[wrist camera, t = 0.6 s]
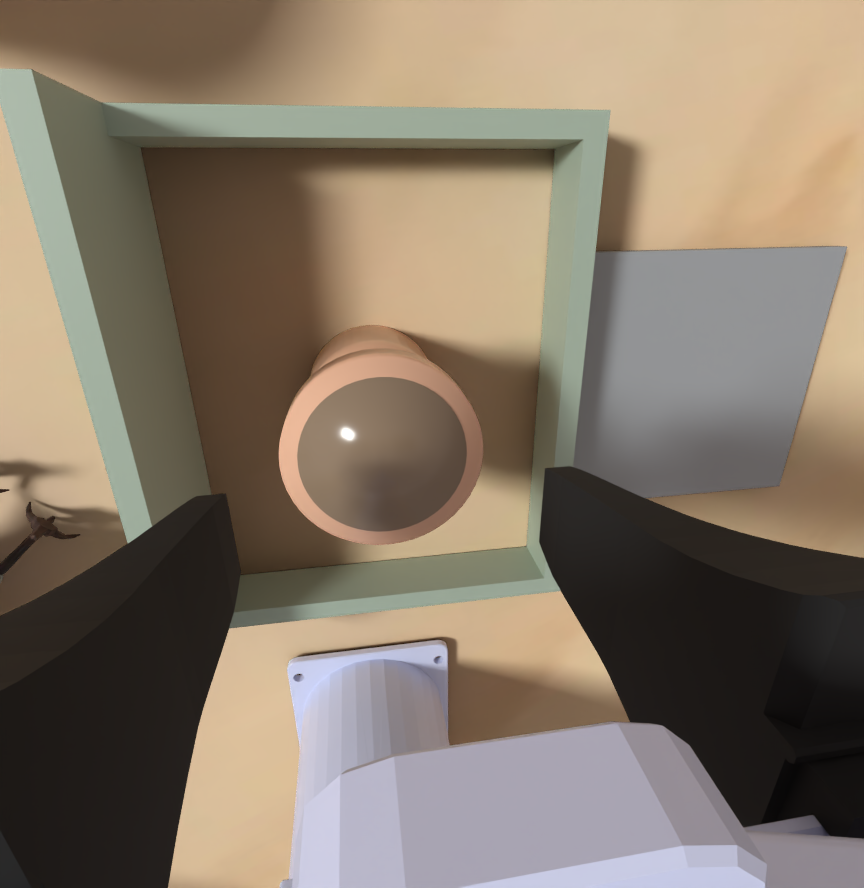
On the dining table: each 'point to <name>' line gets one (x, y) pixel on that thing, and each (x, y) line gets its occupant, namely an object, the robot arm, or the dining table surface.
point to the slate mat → (700, 364)
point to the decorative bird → (32, 537)
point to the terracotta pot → (379, 440)
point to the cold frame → (156, 334)
